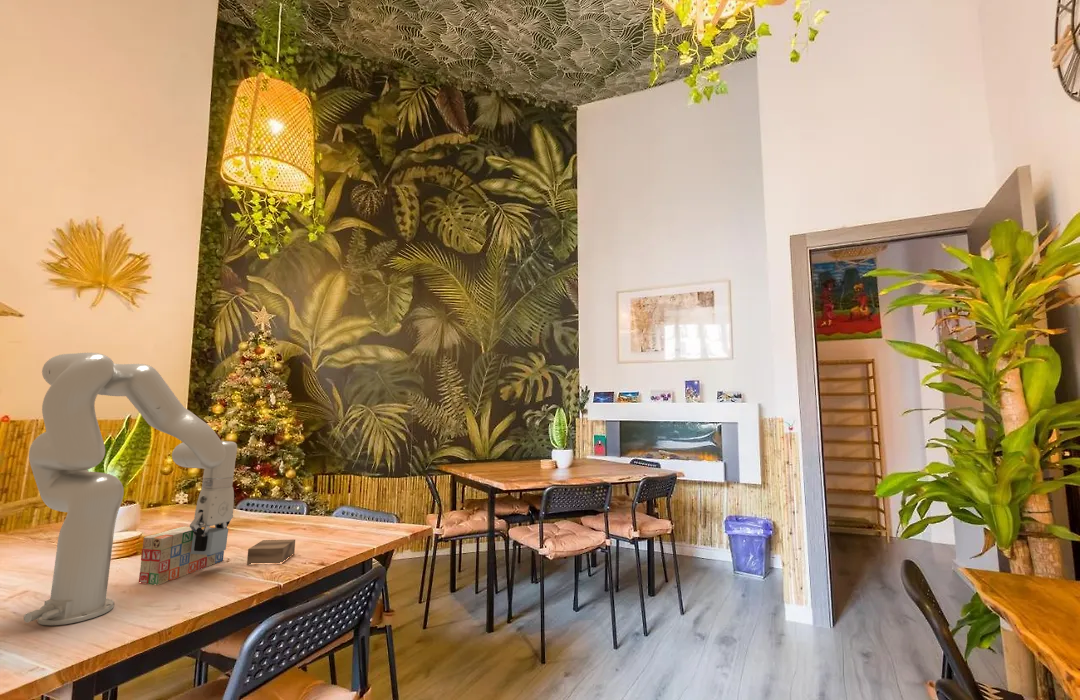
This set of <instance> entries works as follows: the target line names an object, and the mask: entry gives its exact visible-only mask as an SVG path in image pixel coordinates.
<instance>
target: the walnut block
mask: <svg viewBox="0 0 1080 700" xmlns="http://www.w3.org/2000/svg"><path fill="white" fill-rule="evenodd" d="M295 547H296V539H294V538H293V539H262V540H261V541H259V542H257V543H256V544H254V545H252V546H251V547H249V548H248V549H247V559H246V560H247V561H246V565H247V564H251V563H280V562H283V561H284V560H286V559H287V558H288V557H290V556H291V555H292V554H294V555H295Z"/></svg>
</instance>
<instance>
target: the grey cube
mask: <svg viewBox="0 0 1080 700" xmlns="http://www.w3.org/2000/svg"><path fill="white" fill-rule="evenodd" d="M201 529H202V530H204V528H201ZM228 533H229V528H228V527H227V528H215V527H209V529H208V532H207V534H206V536H208V538H207V545H206V550H205V551H194V546H195V539H196V536H194V532H193V539H192V546H191V553H190V554H201V555H212V554H215V553H218V552H221V551H224V552H225V551H226V549H227V545H228V544H227V543H228V537H229V536H228Z"/></svg>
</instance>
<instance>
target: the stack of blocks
mask: <svg viewBox="0 0 1080 700" xmlns="http://www.w3.org/2000/svg"><path fill="white" fill-rule="evenodd" d="M192 539H193V530H192V529H191V528H190V526H180V527H177V528H173V529H169V530H165V531H163V532H158V533H156V534H151V535H147V536H144V537H143V540H142V541H143V543H142V549H141V556H140V568H139V576H138V577H139V578H138V583H139V582H141V583H140V584H142V583H149V584H148V585H153V584H156V586H158V584H159V585H161V584H164V583H166V581H167V582H169V581H168V580H170V581H172V579H173V580H176V579H178V578H181V577H184V576H187V575H189V574H191V573H194V572H196V570H197V571H199V570H202V569H205V568H207V567H209V566H212V564H213V565H214V564H215V563H216V564H217V562H218V563H221V562H223V561H224V554H225V550H224V551H221V552H218V553H215V554H212V555H201V554H190V553H191V546H192ZM222 560H223V561H222ZM220 561H221V562H220ZM204 567H205V568H204ZM201 568H202V569H201ZM198 569H199V570H198ZM188 573H189V574H188ZM186 574H187V575H186ZM183 575H184V576H183ZM175 578H176V579H175ZM163 582H164V583H163Z"/></svg>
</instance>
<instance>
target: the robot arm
mask: <svg viewBox="0 0 1080 700" xmlns="http://www.w3.org/2000/svg"><path fill="white" fill-rule="evenodd" d="M41 373H42V377H43V379H44V380H45V382H46V383H47V384H48V385H50V386H49V387H48V390H47V391H46V392H45V395H44V398H43V401H42V405H41V413H42V418H43V423H44V428H45V431H44V432H43V433H40V434H39V435H38V436H37V437H35V439H34V440H33V441H32V443H31V445H30V447H29V451H28V460H29V461H28V462H29V464H30V468H31V471H32V474H33V477H34V481H35V483H36V488H37V489H38V493H39V495H40V497H41V500H42V501H43V503H44V504H45V505H46V506H47V507H48V508H49V509H51V510H54V511H57V512H62V513H63V512H64V513H67V514H66V517H65V519H64V521H63V523H62V525H61V526H60V527H61V528H60V529H59V533H58V534H59V535H58V537H57V545H56V554H55V560H54V569H53V574H52V575H53V576H52V582H51V583H52V584H51V590H50V591H51V592H50V597H49V599H46V600H44V605H42V606H41V607H40V608H39V609H35V610H32V611H29V612H26V613H25V614H24V615H23V620H24V623H30V622H33V621H36V620H37V621H36V622H37V623H38V624H39V625H42V626H61V625H69V624H74V623H80V622H83V621H89V620H91V619H95V618H97V617H100V616H102V615H104V614H106V613H108V612H110V611H111V610H112V609H113V608H114V607H115V601H114V600H113V599H111V598H107V593H108V585H109V577H110V576H109V575H110V567H111V562H112V561H111V560H112V551H113V544H114V535H115V528H116V524H117V523H116V521H117V517H118V514H119V510H120V508H121V505H122V502H123V498H124V491H125V489H124V486H123V483H122V482H121V481H120V479H119V478H117V476H115V475H113V474H110V473H106V472H101V471H100V472H97V471H89V470H90V469H93V468H96V467H97V466H98V465H99V464H100V463H102V461H103V459H104V457H105V456H106V445H105V443H104V438H103V436H102V432H101V429H100V426H99V422H98V419H97V413H96V408H95V404H96V403H95V402H96V399H97V397H98V395H99V396H100V395H101V396H108V397H109V396H110V397H126V398H127V399H128V401H130V404H132V405H133V406H134V408H135V410H137V411H138V413H139V414H140V415H141V417H142V419H144V420H145V423H147V424H148V425H149V426H150V427H152V428H153V429H155V430H158V431H160V432H162V433H163V434H167V435H170V436H172V437H174V438H176V439H177V440H179V441H181V443H178V445H176V446H175V447H174V449H173V450H172V454H171V458H172V460H173V462H174V463H175V464H176V465H178V466H179V467H182V468H188V469H203V476H202V482H201V483H202V484H201V490H200V492H199V495H198V498H197V502H196V507H195V511H194V517H193V520H192V522H190V524H189V527H190V528H191V529H192V530H193V532H194V536H196V539H195V546H194V551H205V550H206V545H207V538H208V536H206V534H207V532H208V529H209V528H211V526H212V527H214V528H228V526H229V524H230V522H231V521H232V519H233V518H234V505H235V491H234V487H233V483H234V474H235V468H236V467H235V466H236V458H237V453H238V444H237V443H236V442H234V441H229V440H228V441H227V440H224V441H223V440H221V439H220V436H218V434H217V433H216V431H214V429H213V428H212V427H211V426H210V425H209V424H208V423H207V422H205V421H204V420H203V419H201V418H200V417H198V416H197V415H196V414H194V412H192V411H191V410H189V409H187V408H186V407H185V406H184V405H183V404H182V403H181V401H180V400H179V399H178V397H177V396H176V394H175V393H174V392H173V391H172V389H171V388H170V386H169V385H168V383H167V382H166V381H165V379H164V377H162V375H161V374H160V373H159V371H158V370H157V369H156V368H155V367H153V366H152V365H149V364H145V363H130V364H129V363H124V364H123V363H114V361H113V360H112V358H110V357H109V356H108V355H105V354H103V353H99V352H77V353H63V354H59V355H55V356H52V357H51V358H49V359H48V360H46V362H45V363H44V364H43V366H42V369H41ZM202 529H204V530H202Z"/></svg>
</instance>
